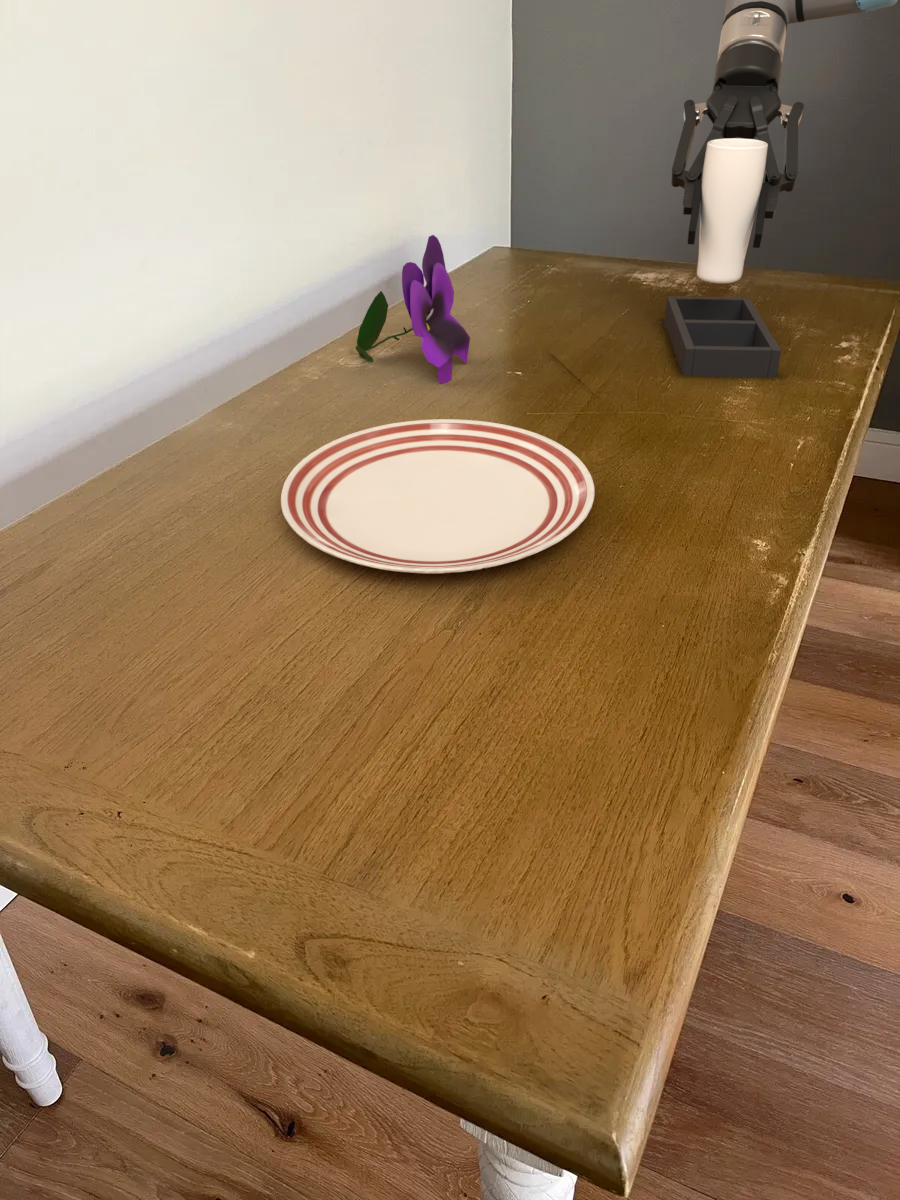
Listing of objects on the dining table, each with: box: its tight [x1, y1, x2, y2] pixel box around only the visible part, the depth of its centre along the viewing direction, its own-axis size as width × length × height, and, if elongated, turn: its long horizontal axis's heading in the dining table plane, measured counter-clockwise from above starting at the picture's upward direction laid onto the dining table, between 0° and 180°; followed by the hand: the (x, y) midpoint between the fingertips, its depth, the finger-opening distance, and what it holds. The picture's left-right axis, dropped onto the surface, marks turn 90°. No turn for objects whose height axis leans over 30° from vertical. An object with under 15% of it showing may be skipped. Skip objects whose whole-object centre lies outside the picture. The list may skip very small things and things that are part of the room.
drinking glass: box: [696, 137, 768, 285], centre depth 111 cm, size 7×7×15 cm
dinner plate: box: [280, 418, 596, 574], centre depth 85 cm, size 27×27×3 cm
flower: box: [355, 234, 471, 384], centre depth 114 cm, size 15×15×14 cm
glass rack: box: [663, 296, 782, 378], centre depth 117 cm, size 10×20×5 cm, turn 175°
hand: (724, 239), depth 109 cm, fingers closed on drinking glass, 7 cm apart
